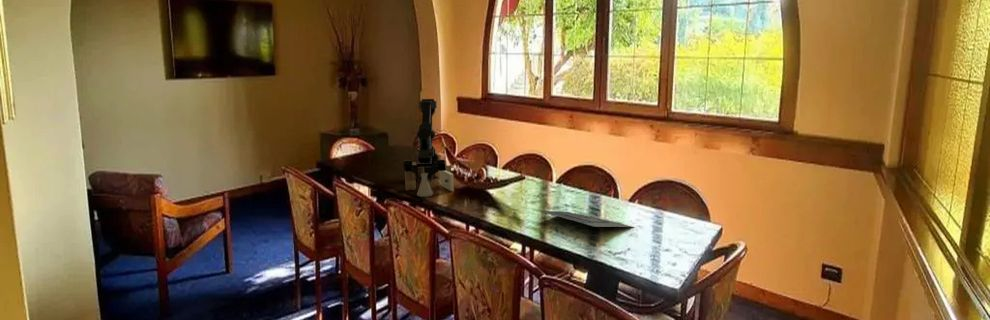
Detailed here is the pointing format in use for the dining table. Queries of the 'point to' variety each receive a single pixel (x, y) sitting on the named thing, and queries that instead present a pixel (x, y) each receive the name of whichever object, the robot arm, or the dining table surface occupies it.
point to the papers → (585, 219)
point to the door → (447, 180)
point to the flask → (424, 186)
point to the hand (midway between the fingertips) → (424, 181)
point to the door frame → (411, 180)
